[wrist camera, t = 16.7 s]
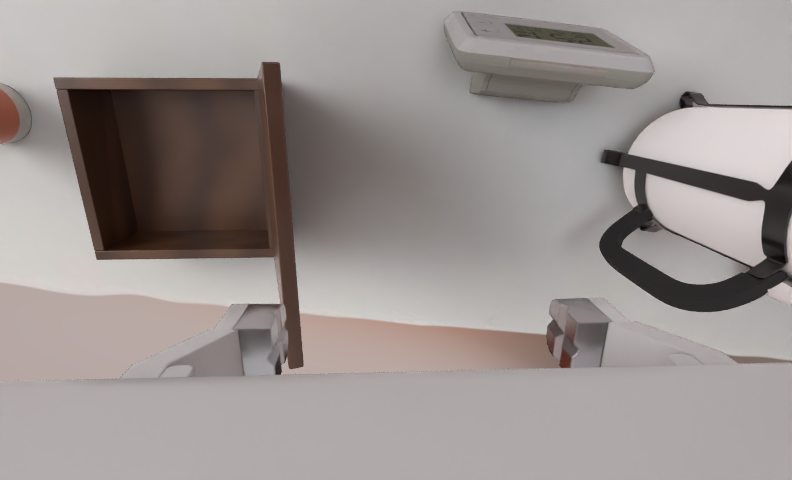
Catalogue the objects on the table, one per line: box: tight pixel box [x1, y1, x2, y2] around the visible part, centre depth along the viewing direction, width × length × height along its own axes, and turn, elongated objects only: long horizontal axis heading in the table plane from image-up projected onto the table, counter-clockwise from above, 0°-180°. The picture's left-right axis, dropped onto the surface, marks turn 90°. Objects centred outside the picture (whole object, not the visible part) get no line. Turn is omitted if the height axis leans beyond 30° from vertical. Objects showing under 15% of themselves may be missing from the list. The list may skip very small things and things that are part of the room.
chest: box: [54, 78, 274, 260], centre depth 40 cm, size 17×16×7 cm
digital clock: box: [444, 11, 654, 102], centre depth 37 cm, size 16×9×11 cm, turn 73°
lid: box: [257, 62, 303, 369], centre depth 29 cm, size 18×16×1 cm
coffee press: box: [599, 92, 792, 312], centre depth 32 cm, size 17×16×30 cm
